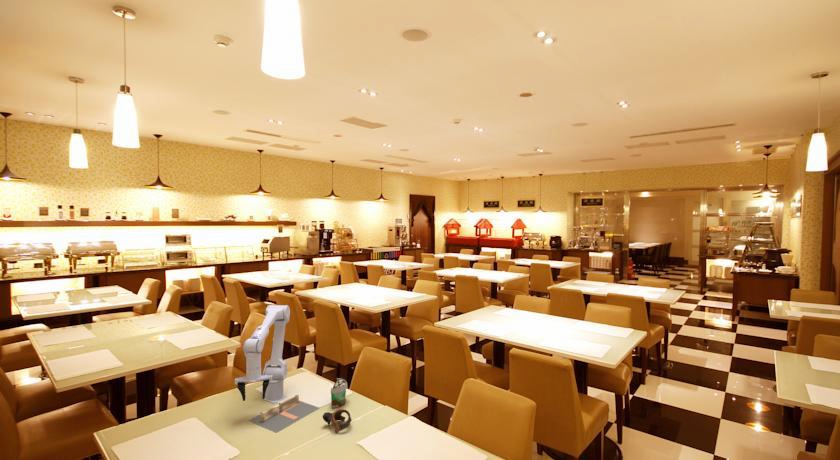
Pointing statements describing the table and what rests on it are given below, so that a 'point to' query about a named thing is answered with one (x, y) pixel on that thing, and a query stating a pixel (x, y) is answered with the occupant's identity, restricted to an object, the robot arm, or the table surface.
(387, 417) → the table surface
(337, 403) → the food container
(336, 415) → the pottery mug
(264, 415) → the bar
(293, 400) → the fixed fence section
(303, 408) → the mat
